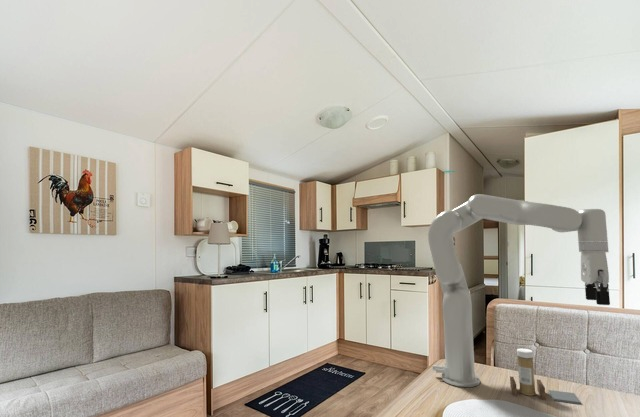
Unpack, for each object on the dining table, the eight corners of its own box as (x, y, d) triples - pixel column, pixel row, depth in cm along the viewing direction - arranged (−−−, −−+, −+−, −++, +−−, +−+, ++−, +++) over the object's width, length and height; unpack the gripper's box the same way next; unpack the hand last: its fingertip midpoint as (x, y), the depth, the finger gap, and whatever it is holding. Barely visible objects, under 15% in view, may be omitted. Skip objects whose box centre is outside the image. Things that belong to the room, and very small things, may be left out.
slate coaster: (553, 400, 109) (553, 398, 109) (548, 391, 116) (548, 389, 116) (581, 404, 106) (580, 402, 107) (574, 395, 113) (574, 393, 113)
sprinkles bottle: (538, 394, 114) (535, 350, 115) (531, 397, 111) (528, 352, 113) (523, 389, 118) (521, 347, 119) (516, 392, 115) (513, 349, 117)
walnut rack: (513, 395, 113) (512, 383, 113) (510, 387, 119) (509, 376, 120) (545, 399, 110) (544, 387, 110) (540, 390, 116) (540, 379, 117)
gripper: (571, 247, 124) (575, 297, 122) (588, 248, 108) (592, 306, 106) (597, 247, 121) (601, 298, 119) (618, 248, 105) (623, 307, 103)
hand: (597, 302), depth 113 cm, fingers open, 9 cm apart
